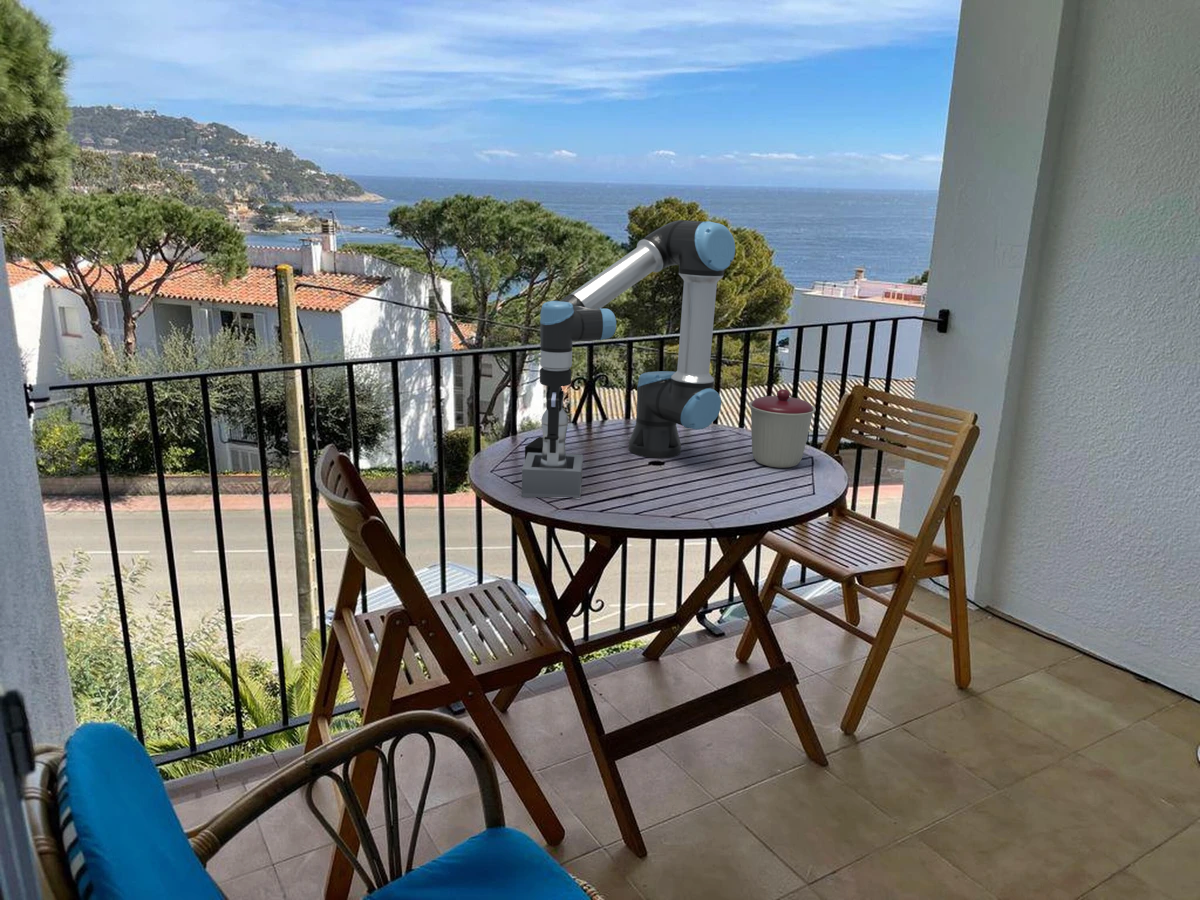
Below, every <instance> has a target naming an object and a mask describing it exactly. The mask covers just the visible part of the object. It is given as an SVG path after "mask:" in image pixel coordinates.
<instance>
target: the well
mask: <svg viewBox="0 0 1200 900" xmlns="http://www.w3.org/2000/svg"><path fill="white" fill-rule="evenodd" d="M565 455H566V462H567V469H565V468H541V467H540V462H541V458H542V453H531V452H528V453H527V456H526V459H525V458H524V462H523V465H522V469H521V498H533V497H535V498H536V497H538V498H540V497H543V498H542V499H545V498H544V497H573V498H580V499H581V494H580V493H581V492H582V485H581V484H583V466H584V465H583V460H584V458H583V457H584V455H583V454H580V453H579V454H576V453H575V454H574V453H573V454H572V453H565ZM540 499H541V498H540Z"/></svg>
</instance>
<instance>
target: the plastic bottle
mask: <svg viewBox="0 0 1200 900" xmlns="http://www.w3.org/2000/svg"><path fill="white" fill-rule="evenodd" d="M559 401H560V399H559ZM563 406H564V399H563V400H562V409H561V411H560V412H559V431H558V436H559V438H558V439H559V458H558V465H547V439H545V437H547V433H548V410H547V409H546V410H545V411H544V412H543V414H542V415H541V416H542V417H541V420H540V421H541V430H542V437H543V451H542V458H541V462H540V467H541V468H565V469H567V462H566V455H565V454H566V439H567V432H568V431H567V430H568V427H569V416H568V415H567V412H566V410H564V408H563Z"/></svg>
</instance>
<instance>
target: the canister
mask: <svg viewBox="0 0 1200 900" xmlns="http://www.w3.org/2000/svg"><path fill="white" fill-rule="evenodd" d="M790 395H791V393H790V391H789V390H787V389H785V388H784V389H782V388H781V389H779V390H778V391H777V393H776V395H764V396H760V397H757V398H755V399H753V400H751V401H749V403H748V406H749V408H750V410H751V411H750V413H751V414H750V420H751V424H750V425H751V427H750V429H751V448H752V449H751V452H752V456H753V459H754V460H755V461H756V462H757V463H758V464H760V465H763V466H766V467H770V468H777V469H778V468H779V469H784V468H785V469H786V468H793V467H795V466H797V465H799V464H800V462H801V460H802V458H803V456H804V452H805V448H806V446H807V445H806V444H807V440H808V438H809V437H808V436H809V432H810V427H811V423H812V419H813V414H814V413H815V412H816V411H817V410H816V407H815V406H813V405H812V404H811V403H810V402H809V401H806V400H804V399H801V398H796V397H791V396H790Z"/></svg>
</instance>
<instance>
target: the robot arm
mask: <svg viewBox="0 0 1200 900" xmlns="http://www.w3.org/2000/svg"><path fill="white" fill-rule="evenodd" d="M735 242H736V241H735V238H734V237H733V233H731V232H730V229H729V228H728V227H727V226H725V225H724V224H721V223H718V222H714V221H710V220H708V221H698V220H687V219H686V220H683V219H679V220H675V221H674V220H673V221H672V222H669V223H667V224H664V225H662V226H661V227H658V228H657V229H656V230H654V231H652V232H651V233H649V234H647V235H646V236H645V237H643V238H642V239H640V240H639V241H638V242H637V245H636V248H634V249H633V250H632V251H629V252H628V253H627V254H626V255H624V256H623V257H621V258H620V259H618V260H617V261H616V262H614V263H613V264H611V265H610V266H608V267H607V268H605V269H604V270H602V272H600V273H598V274H597V275H595V276H594V277H593V278H591V279H590V280H589V281H587V282H585V283H584V284H583V285H581V286H580V287H578V288H577V289H575V290H574V291H573V292H571V293H569V294H568V295H567V296H565V297H563V298H562V299H561V300H550V301H546V302H544V303H543V304H542V306H541V309H540V313H539V314H540V315H539V317H540V320H539V323H540V339H539V340H540V346H539V347H540V352H539V353H537V357H538V358H540V360H539V362H540V363H539V366H540V367H541V368H540V369H539V384H540V385H543V386H544V387H545V386H547V387H549V389H547V391H546V397H545V398H546V401H547V403H546V410H548V433H547V437H545V439H547V465H558V458H559V439H558V438H559V436H558V431H559V412H560V411H561V409H562V408H563V406H562V400H563V401H564V396H565V393H564V391H565V390H563V387H566V386H567V387H568V386H570V385H571V383H572V369H571V367H572V365H573V343H575V342H586V341H588V342H589V341H602V340H607V339H611V338H613V336H614V335H615V333H616V329H617V319H616V316H615V313H614V312H613V311H612V310H611V309H609V308H603V307H605V306H606V305H608V304H609V303H610V302H612V301H613V300H615V299H616V298H617V297H619V296H620V295H621V294H623V293H624V292H626V291H628V289H630V288H631V287H633V286H634V285H635V284H637V283H639V282H640V281H642V280H643V279H644V278H646V277H647V276H649V274H652V272H653V273H659V272H661V271H662V270H663V269H665V268H668V267H671V266H678V275H679V276H680V277H681V279H682V280H683V287H682V288H683V290H682V303H681V313H680V314H681V317H680V329H679V342H678V343H679V344H678V354H677V355H678V357H677V369H676V371H672V370H671V371H669V370H666V371H665V370H664V371H659V370H657V371H648V372H643V373H641V374H640V375H639V376H638V383H637V387H636V388H637V389H636V390H637V392H636V393H637V394H636V418H635V420H636V421H635V426H634V428H633V430H632V432H631V435H630V439H629V440H628V451H629V452H630V453H632V454H634V455H637V456H641V457H646V458H658V459H659V458H660V459H661V458H671V457H676V456H678V455H679V454H681V453H682V441H681V437H680V434H679V431H678V427H677V426H678V425H680V426H683V428H684V427H685V428H687V429H693V430H696V431H697V430H698V431H700V430H704V429H707V428H708V427H710V426H711V425H712V424H713V422H714V421H715V420H716V419H717V418H718V416H719V415H720V411H721V408H722V399H721V396H720V395H719V394H720V393H719V392H717V391H716V390H715V389H714V386H715V378H714V377H713V375H711V373H710V369H711V358H712V357H711V355H712V354H711V353H712V345H713V343H712V342H713V333H714V321H715V319H714V318H715V307H716V296H717V287H718V285H717V284H718V282H719V281H720V280H721V279H722V278H723V277H724V273H725V270H726V269H727V268H728V267H730V265H731V263H732V262H733V261H734V259H735V254H736V243H735ZM559 399H560V401H559Z"/></svg>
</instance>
